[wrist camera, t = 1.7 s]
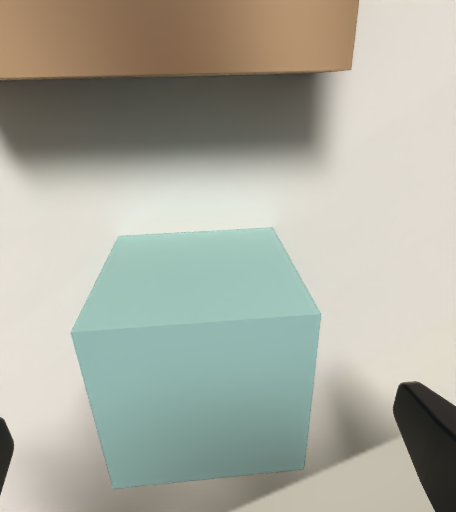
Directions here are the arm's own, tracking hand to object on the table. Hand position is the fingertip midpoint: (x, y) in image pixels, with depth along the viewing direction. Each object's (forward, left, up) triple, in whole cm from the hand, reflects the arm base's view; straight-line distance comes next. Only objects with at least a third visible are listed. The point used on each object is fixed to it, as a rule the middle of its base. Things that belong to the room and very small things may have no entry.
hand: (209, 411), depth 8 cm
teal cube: (0, 0, -5) cm, 5 cm away
